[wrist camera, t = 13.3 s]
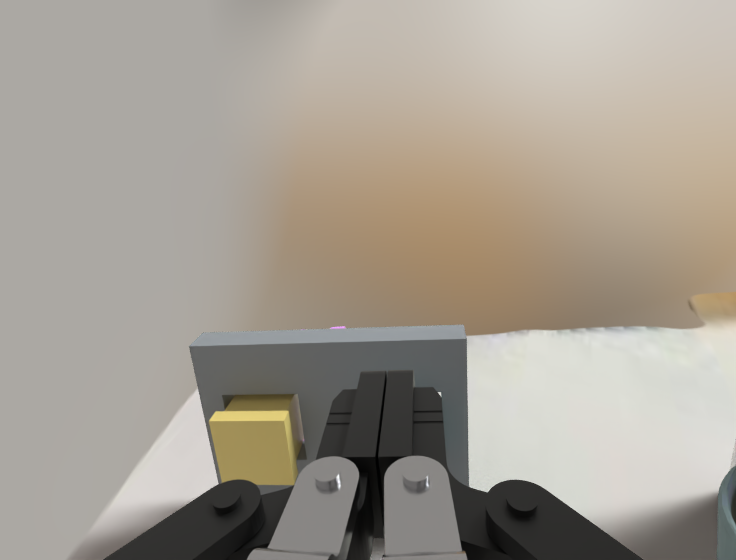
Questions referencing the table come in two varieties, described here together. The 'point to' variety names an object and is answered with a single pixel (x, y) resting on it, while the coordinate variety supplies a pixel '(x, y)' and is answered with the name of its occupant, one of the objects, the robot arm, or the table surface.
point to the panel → (334, 375)
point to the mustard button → (258, 438)
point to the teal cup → (727, 517)
